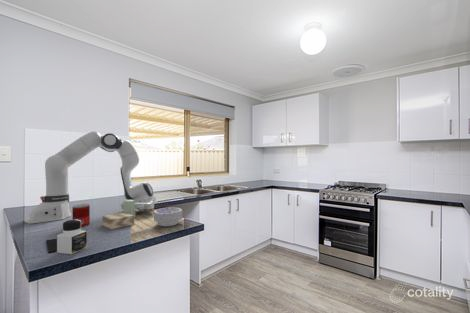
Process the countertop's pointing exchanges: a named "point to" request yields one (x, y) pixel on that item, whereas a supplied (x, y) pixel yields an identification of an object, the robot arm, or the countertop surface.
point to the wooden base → (118, 220)
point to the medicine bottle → (71, 238)
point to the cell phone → (52, 245)
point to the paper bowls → (167, 216)
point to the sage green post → (129, 207)
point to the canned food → (81, 213)
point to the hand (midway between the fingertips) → (131, 207)
